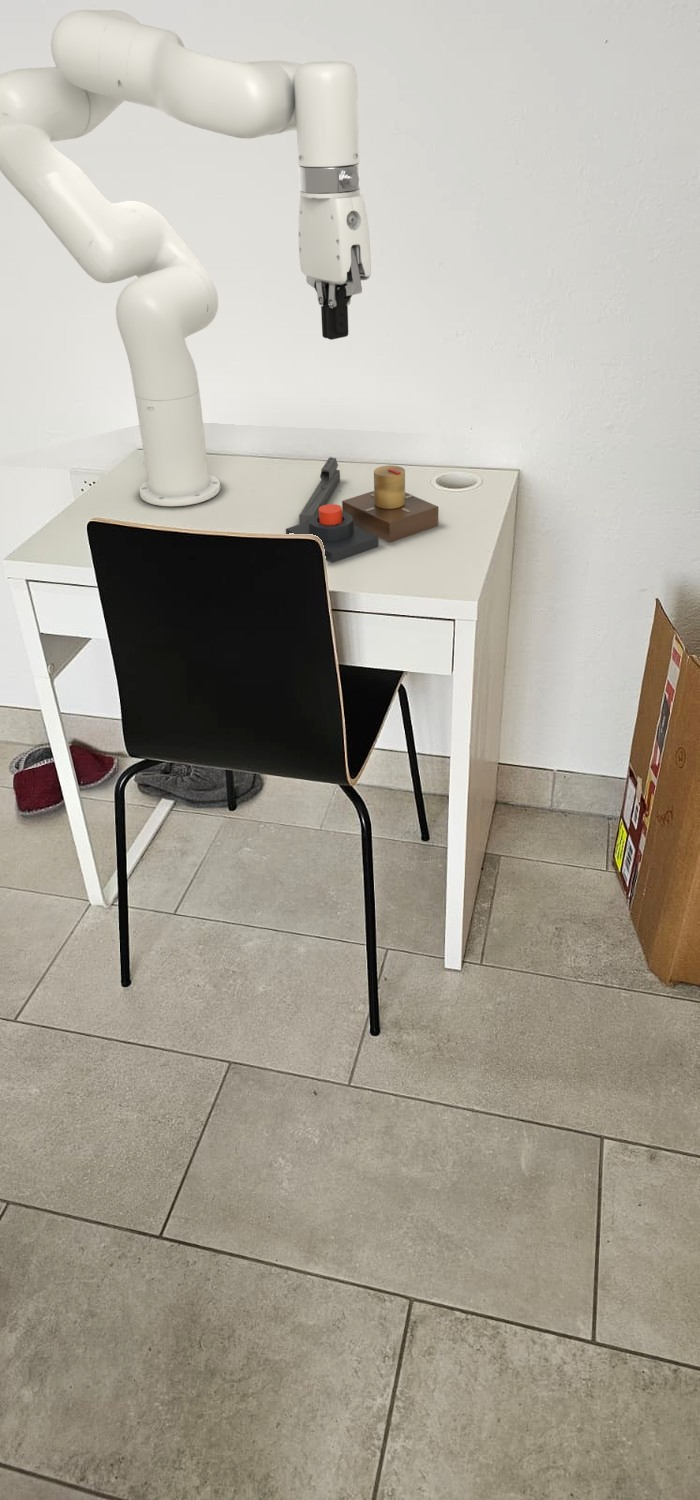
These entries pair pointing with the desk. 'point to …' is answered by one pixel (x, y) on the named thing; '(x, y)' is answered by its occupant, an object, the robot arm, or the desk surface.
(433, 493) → the desk surface
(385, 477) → the dimmer knob
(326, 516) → the power button
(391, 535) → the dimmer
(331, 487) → the dark grey long bar
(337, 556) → the switch box
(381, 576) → the desk surface
